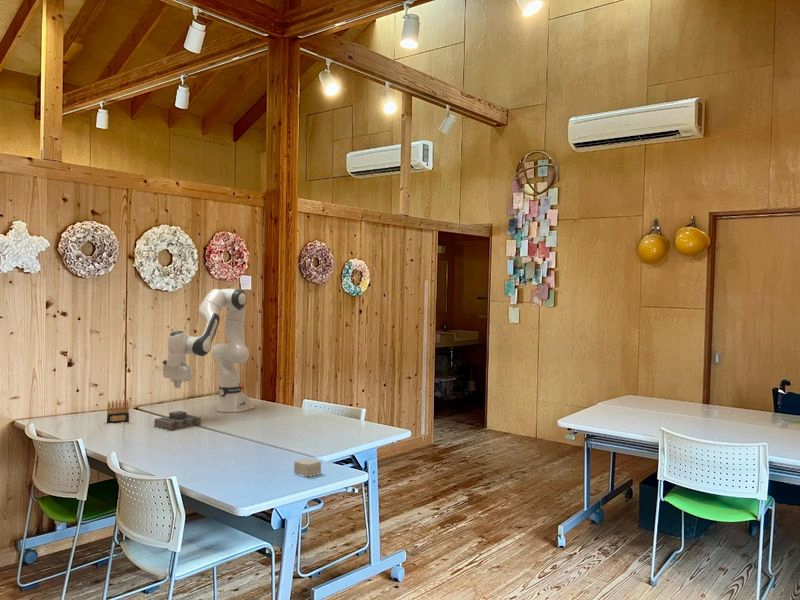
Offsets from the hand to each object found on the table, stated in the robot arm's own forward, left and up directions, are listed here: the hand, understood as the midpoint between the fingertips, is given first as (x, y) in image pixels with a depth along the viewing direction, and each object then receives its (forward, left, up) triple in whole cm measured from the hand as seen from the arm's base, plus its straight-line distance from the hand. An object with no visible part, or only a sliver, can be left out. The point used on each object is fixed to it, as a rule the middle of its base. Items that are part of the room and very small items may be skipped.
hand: (177, 387), depth 334 cm
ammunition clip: (+20, -23, -19) cm, 36 cm away
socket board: (+4, +6, -19) cm, 20 cm away
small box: (+19, +114, -19) cm, 117 cm away
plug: (+4, +6, -18) cm, 19 cm away
